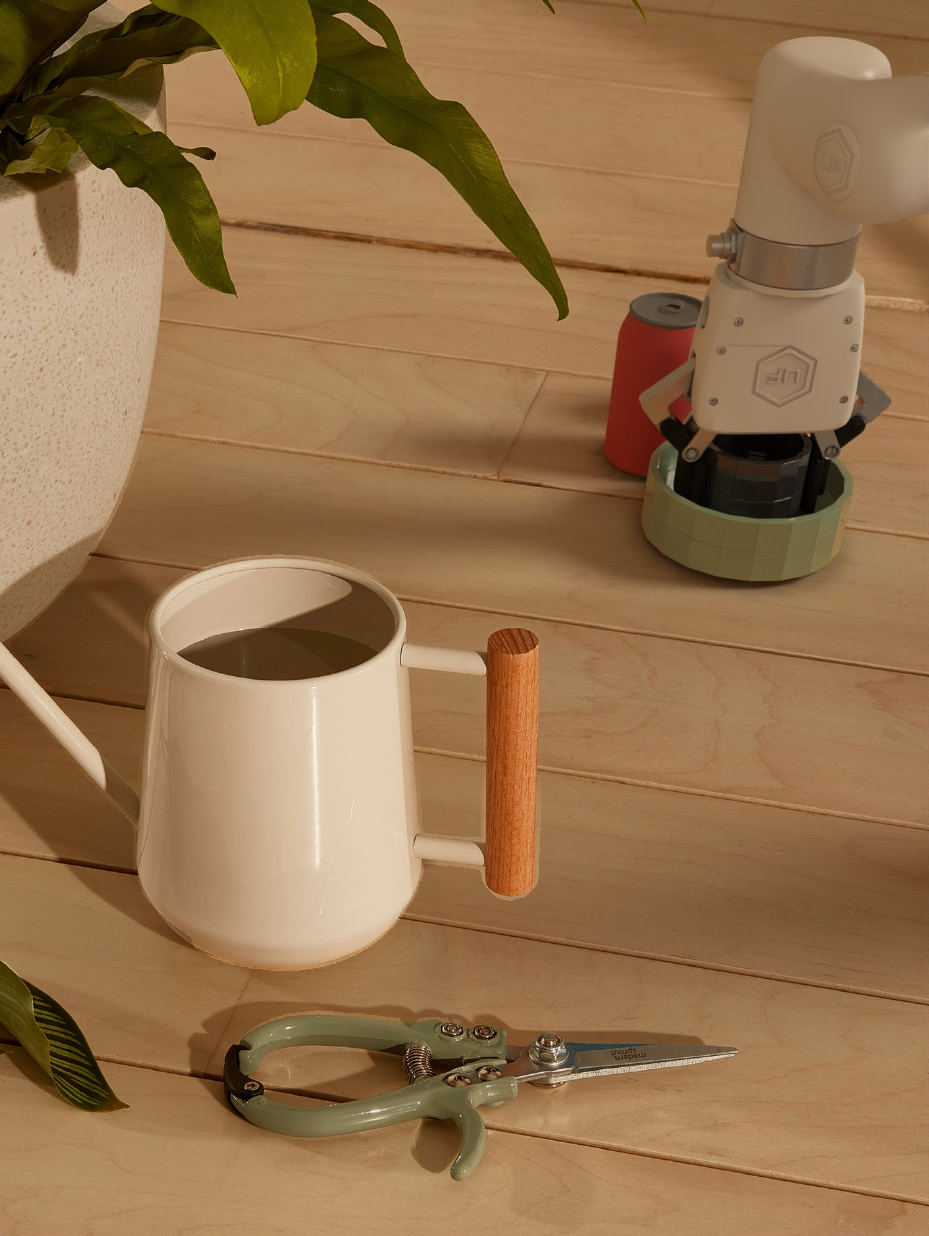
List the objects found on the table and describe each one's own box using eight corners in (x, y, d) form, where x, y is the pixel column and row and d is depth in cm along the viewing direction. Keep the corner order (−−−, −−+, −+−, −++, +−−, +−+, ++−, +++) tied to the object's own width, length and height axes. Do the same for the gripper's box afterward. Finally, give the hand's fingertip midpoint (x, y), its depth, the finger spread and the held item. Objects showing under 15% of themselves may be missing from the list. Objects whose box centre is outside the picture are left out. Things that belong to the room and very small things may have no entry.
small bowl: (780, 491, 120) (795, 413, 117) (808, 543, 115) (825, 463, 111) (680, 493, 120) (692, 415, 117) (702, 545, 115) (716, 465, 111)
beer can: (707, 453, 128) (733, 301, 121) (672, 490, 124) (696, 335, 116) (625, 431, 131) (645, 281, 124) (587, 466, 127) (606, 313, 120)
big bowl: (808, 487, 124) (821, 425, 121) (863, 587, 113) (879, 521, 110) (624, 490, 124) (632, 427, 121) (662, 590, 113) (672, 524, 110)
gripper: (663, 278, 103) (627, 534, 114) (953, 274, 103) (891, 530, 114) (638, 231, 109) (606, 478, 120) (912, 227, 109) (857, 475, 120)
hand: (745, 502), depth 117 cm, fingers closed on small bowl, 7 cm apart
